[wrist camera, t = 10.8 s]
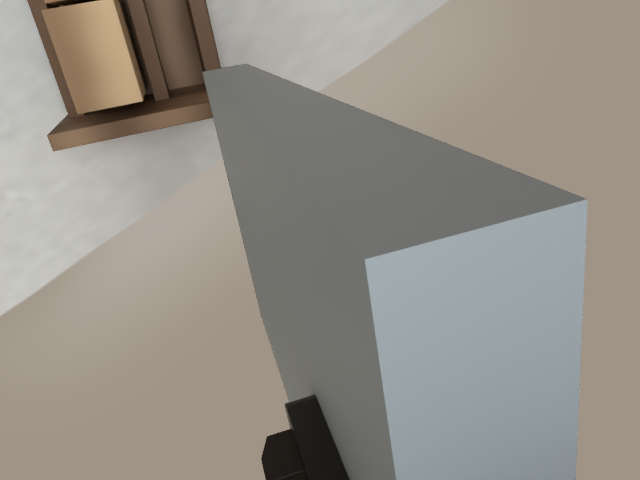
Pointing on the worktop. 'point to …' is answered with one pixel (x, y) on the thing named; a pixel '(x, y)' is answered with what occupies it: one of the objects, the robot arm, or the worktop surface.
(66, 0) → the offcut
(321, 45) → the worktop surface
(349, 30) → the worktop surface
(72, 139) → the rack
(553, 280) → the sheet
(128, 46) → the offcut
